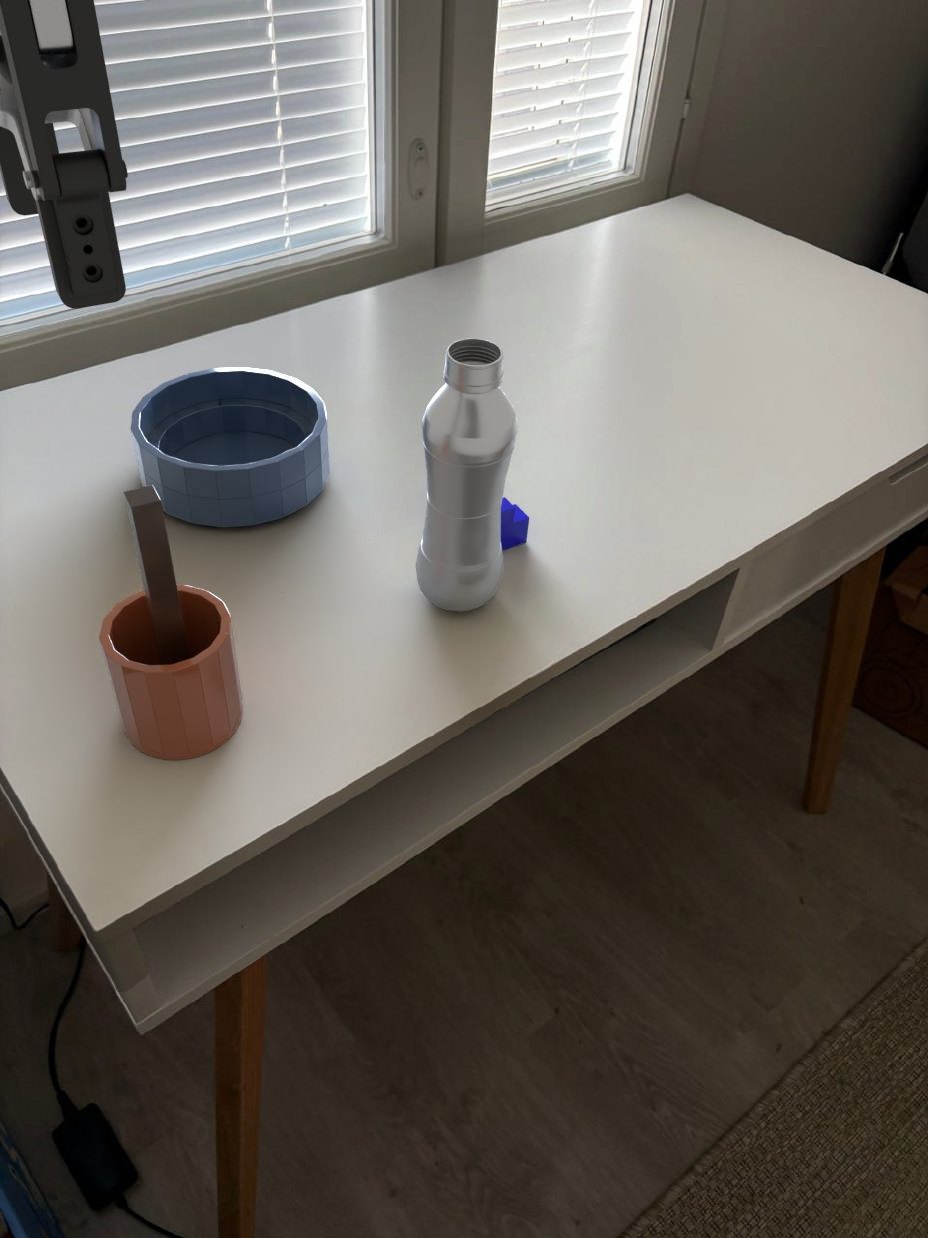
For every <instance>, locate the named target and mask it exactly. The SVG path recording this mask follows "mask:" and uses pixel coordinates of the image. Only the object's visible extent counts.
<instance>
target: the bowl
mask: <svg viewBox="0 0 928 1238" xmlns="http://www.w3.org/2000/svg"><path fill="white" fill-rule="evenodd" d="M328 433H329V431H328V417H327V409H326V404H325V402H324V400H322V398H321V397H320V395H319V394H318V393H317V392H316V391H315V389H314V388H312V387H311V386H309V385H308V384H306V383H304V382H303V381H301V380H299V379H298V378H296V377H293V376H290V375H287V374H285V373H284V374H283V373H280V372H277V371H274V370H270V369H263V368H254V367H245V366H244V367H243V366H237V367H236V366H235V367H215V368H208V369H203V370H199V371H193V372H188V373H184V374H183V375H179V376H177V377H175V378H172V379H169V380H167V381H165V382H162V383H160V384H159V385H158V386H157V387H155V388H154V389H152V390H151V391H149V392H148V393H146V394H145V395H144V396H142V398H141V399H140V400H139V402H138V403H137V404H136V406H135V408H134V409H133V410H132V412H131V421H130V434H131V439H132V444H133V448H134V449H133V450H134V453H135V458H136V463H137V469H138V473H139V474H138V475H139V479H140V484H141V487H146V486H150V485H153V486H154V488H155V490H156V492H157V494H158V496H159V498H160V499H161V503H162V508H163V513H166V514H167V515H168V516H171V517H173V518H176V519H179V520H182V521H185V522H188V523H190V524H194V525H199V526H200V525H202V526H208V527H217V528H234V527H248V526H249V527H250V526H258V525H260V524H265V523H268V522H272V521H275V520H279V519H283V518H285V517H287V516H289V515H291V514H293V513H295V512H297V511H298V510H301V509H302V508H304V507H306V506H308V505H309V504H310V503H311V502H312V501H313V500H314V499H315V498H316V497H317V496H318V495H319V494H320V493H322V491H323V490H324V487H325V486H326V482H327V480H328V478H329V475H330V455H329V434H328Z"/></svg>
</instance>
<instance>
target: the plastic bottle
mask: <svg viewBox="0 0 928 1238" xmlns="http://www.w3.org/2000/svg"><path fill="white" fill-rule="evenodd" d="M444 360H445V361H444V362H445V363H444V367H443V374H442V377H443V381H444V382H445V384H443V386H442V387H441V388H439V390H438V391H437V392H436V393H435V394H434V396H433V397H432V398H431V400H430V401H429V403H428V404H427V406H426V408H425V411H424V414H423V416H422V421H421V435H422V436H421V437H422V443H423V453H424V461H425V469H426V510H425V517H424V525H423V531H422V537H421V540H420V544H419V546H418V551H417V556H416V561H415V573H416V578H417V585H418V587H419V590H420V591H421V593H422V594H423V596H424V597H425V598H426V599H427V600H428V601H430V603H431V604H433V605H435V606H436V607H437V608H440V609H442V610H444V611H445V610H446V611H450V612H468V611H472V610H475V609H478V608H480V607H481V606H483V605H484V604H486V603H487V602H489V601H490V600H491V599H492V598H493V597H494V595H495V594H497V592H498V588H499V586H500V583H501V580H502V578H503V575H504V553H503V551H502V546H501V504H502V498H504V493H505V492H504V491H505V485H506V479H507V475H508V472H509V467H510V464H511V460H512V457H513V452H514V449H515V445H516V443H517V442H516V441H517V436H518V431H519V423H518V419H517V414H516V410H515V408H514V406H513V404H512V403H511V401H510V399H509V397H508V396H507V394H506V393H505V392H504V390H503V389H502V387H501V385H502V383H503V380H504V369H503V367H504V366H503V365H504V352H503V348H502V347H501V346H500V345H499V344H498V343H496V342H493V341H491V340H489V339H485V338H478V337H465V338H460V339H457V340H455V341H453V342H451V343H450V344H449V345H448V346H447V347H446V350H445V359H444Z"/></svg>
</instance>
